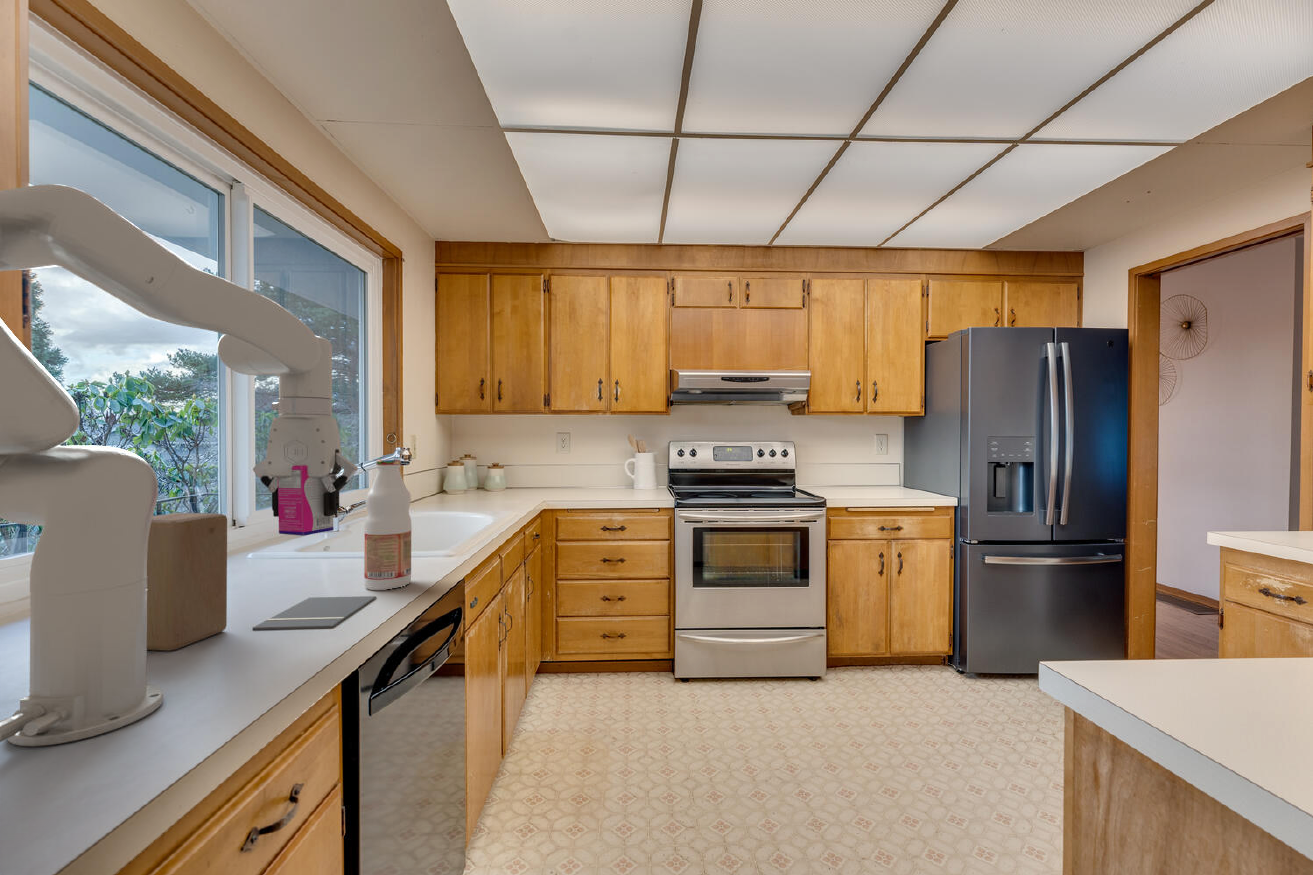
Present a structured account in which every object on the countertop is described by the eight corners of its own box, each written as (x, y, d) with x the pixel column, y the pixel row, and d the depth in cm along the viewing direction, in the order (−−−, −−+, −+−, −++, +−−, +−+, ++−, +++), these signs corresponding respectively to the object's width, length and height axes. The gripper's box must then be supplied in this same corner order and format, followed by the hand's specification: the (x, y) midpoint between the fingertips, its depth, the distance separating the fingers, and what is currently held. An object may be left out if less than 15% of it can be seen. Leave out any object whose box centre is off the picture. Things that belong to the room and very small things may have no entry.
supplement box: (309, 528, 96) (309, 462, 96) (334, 530, 94) (334, 463, 94) (276, 533, 91) (276, 464, 91) (302, 536, 89) (303, 465, 89)
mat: (332, 627, 95) (332, 624, 95) (252, 629, 94) (252, 626, 94) (376, 598, 113) (376, 595, 113) (309, 599, 112) (309, 597, 112)
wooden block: (229, 630, 94) (230, 512, 94) (172, 653, 84) (173, 521, 84) (176, 628, 95) (176, 511, 95) (113, 650, 85) (114, 520, 85)
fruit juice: (374, 593, 116) (375, 460, 116) (357, 585, 122) (357, 459, 123) (418, 585, 123) (419, 459, 123) (400, 578, 130) (400, 458, 130)
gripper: (236, 408, 88) (236, 519, 88) (348, 408, 89) (348, 518, 89) (266, 410, 96) (266, 512, 96) (369, 411, 97) (369, 511, 97)
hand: (306, 514), depth 93 cm, fingers closed on supplement box, 7 cm apart
